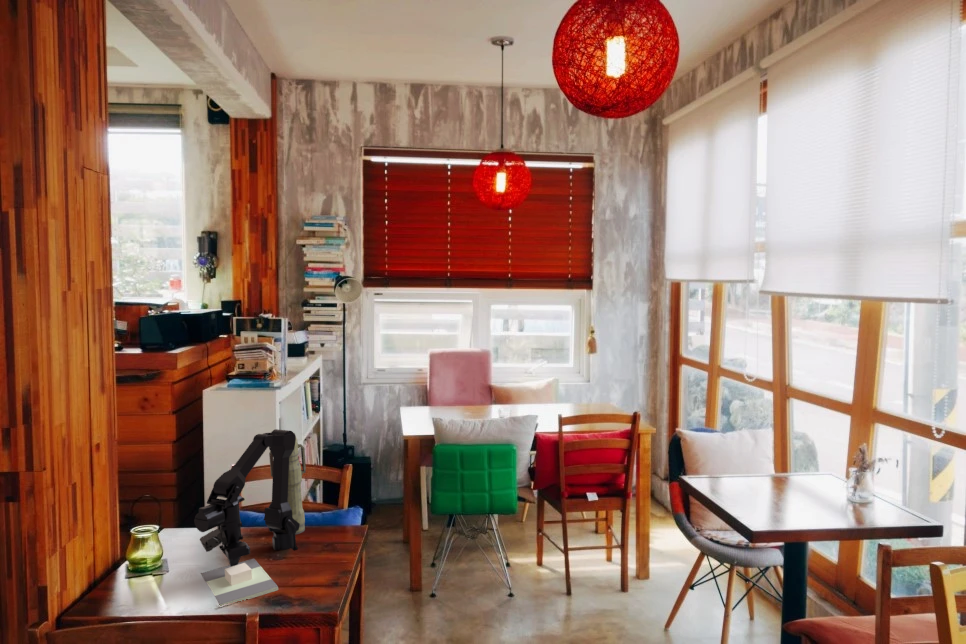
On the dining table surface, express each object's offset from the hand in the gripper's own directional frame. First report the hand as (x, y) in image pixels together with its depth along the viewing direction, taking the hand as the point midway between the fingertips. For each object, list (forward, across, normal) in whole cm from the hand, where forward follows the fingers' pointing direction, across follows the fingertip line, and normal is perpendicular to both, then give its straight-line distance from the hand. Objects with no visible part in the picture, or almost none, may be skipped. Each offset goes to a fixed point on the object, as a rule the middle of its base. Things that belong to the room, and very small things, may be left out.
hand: (233, 569), depth 204 cm
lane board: (+2, +5, 0) cm, 5 cm away
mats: (+2, +5, 0) cm, 5 cm away
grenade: (+3, -24, +26) cm, 36 cm away
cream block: (+1, +4, 0) cm, 4 cm away
